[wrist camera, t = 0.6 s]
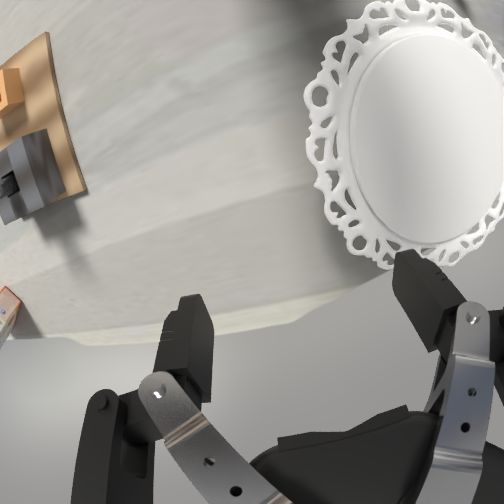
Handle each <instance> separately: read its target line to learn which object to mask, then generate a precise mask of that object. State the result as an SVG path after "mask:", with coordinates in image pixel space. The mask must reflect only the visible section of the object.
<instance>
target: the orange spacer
mask: <svg viewBox="0 0 504 504" xmlns="http://www.w3.org/2000/svg"><path fill="white" fill-rule="evenodd" d="M24 101H25V100H24V95H23V90H22V84H21V78H20V71H19V68H8V69H2V70H1V71H0V119H2V118H3V117H4V116H6V115H7V114H8V113H9V112H11V111H12V110H13V109H15V108H16V107H17V106H19V105H20V104H21V103H23V102H24Z"/></svg>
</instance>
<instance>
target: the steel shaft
mask: <svg viewBox="0 0 504 504" xmlns="http://www.w3.org/2000/svg"><path fill="white" fill-rule="evenodd" d="M17 187H18V183H17V180H16V177H15V176H14V175H9V176H8V177H6V178H4V179H2V180H1V181H0V200H2V199H3V198H5V197H6V196H8V195H9V194H11V193H13V192H14V191H16V190H17Z"/></svg>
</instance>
